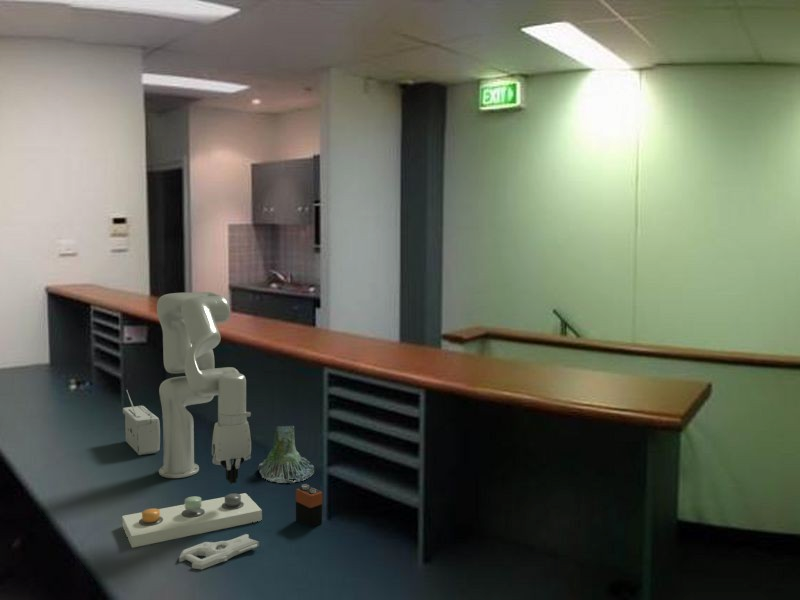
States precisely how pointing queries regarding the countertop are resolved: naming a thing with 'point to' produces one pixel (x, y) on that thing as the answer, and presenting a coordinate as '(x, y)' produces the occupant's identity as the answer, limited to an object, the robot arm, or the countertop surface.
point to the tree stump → (285, 460)
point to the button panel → (190, 520)
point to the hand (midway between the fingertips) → (231, 481)
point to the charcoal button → (232, 500)
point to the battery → (308, 506)
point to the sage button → (193, 503)
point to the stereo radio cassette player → (142, 429)
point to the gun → (217, 551)
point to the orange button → (150, 515)
